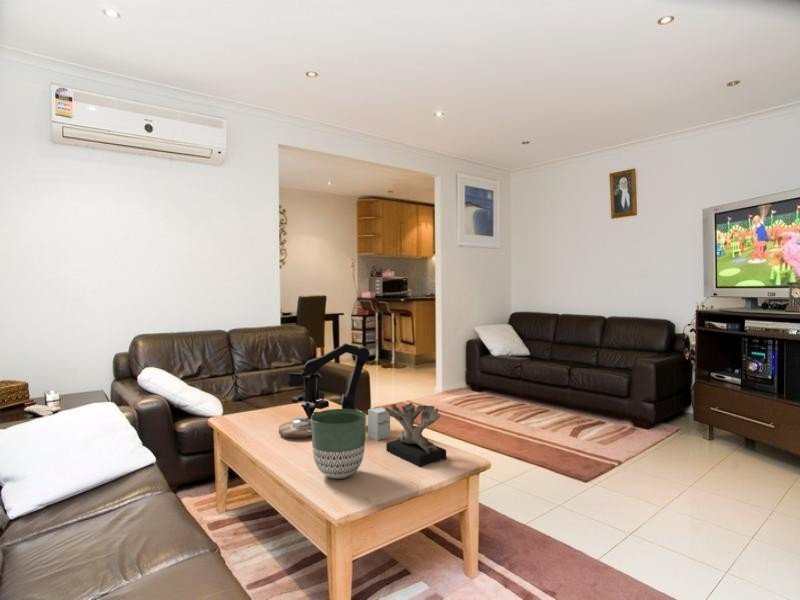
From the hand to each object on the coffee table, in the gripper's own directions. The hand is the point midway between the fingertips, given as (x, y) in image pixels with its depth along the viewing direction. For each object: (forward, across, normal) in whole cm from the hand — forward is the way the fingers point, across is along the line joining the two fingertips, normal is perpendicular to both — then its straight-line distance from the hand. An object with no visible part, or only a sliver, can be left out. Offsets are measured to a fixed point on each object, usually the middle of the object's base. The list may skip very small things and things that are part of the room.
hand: (309, 419), depth 215 cm
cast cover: (+1, -1, +7) cm, 7 cm away
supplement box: (+3, -35, -8) cm, 36 cm away
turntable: (+3, -1, +7) cm, 7 cm away
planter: (+3, -46, +34) cm, 58 cm away
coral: (+2, -60, +6) cm, 60 cm away
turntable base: (+5, -1, +7) cm, 8 cm away
